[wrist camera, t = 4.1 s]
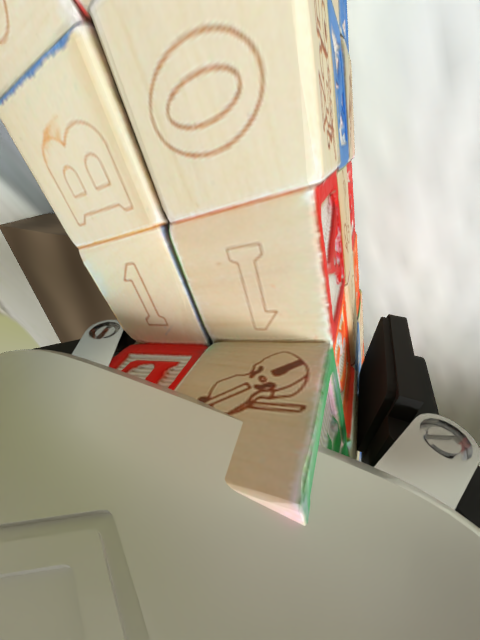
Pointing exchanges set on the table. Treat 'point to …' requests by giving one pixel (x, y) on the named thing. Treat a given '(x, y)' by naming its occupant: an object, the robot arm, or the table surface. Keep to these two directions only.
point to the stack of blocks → (208, 204)
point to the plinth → (57, 275)
